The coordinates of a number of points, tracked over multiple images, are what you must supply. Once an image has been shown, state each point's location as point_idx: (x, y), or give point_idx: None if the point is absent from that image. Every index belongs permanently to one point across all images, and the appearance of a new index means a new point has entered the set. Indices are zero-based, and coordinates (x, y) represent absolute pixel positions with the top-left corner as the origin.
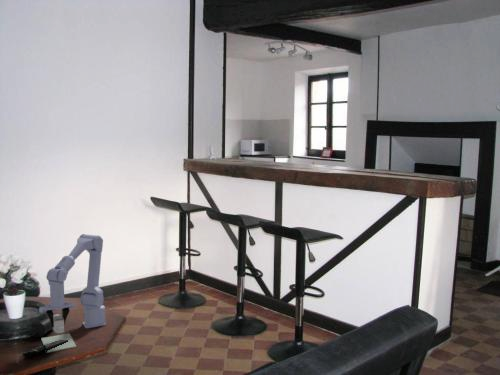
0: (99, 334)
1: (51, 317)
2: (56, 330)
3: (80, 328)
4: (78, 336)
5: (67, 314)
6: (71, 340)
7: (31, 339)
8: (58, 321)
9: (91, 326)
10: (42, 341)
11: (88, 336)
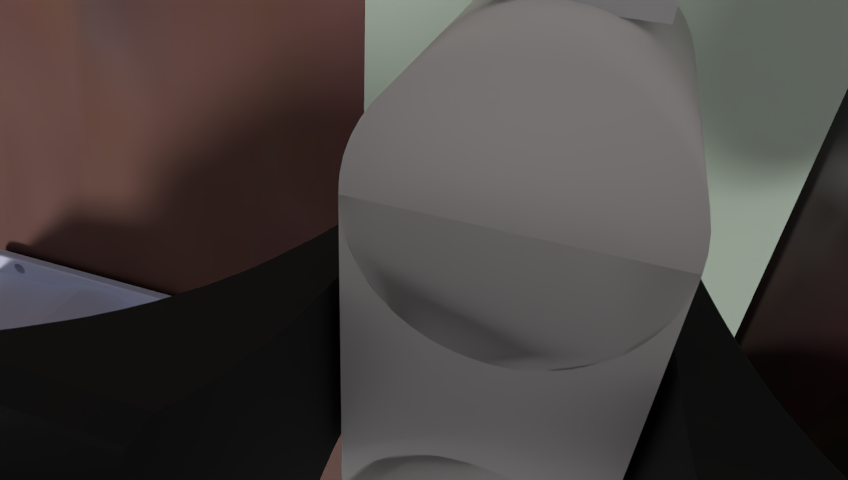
0: (43, 53)
1: (775, 476)
2: (678, 20)
3: None
4: (280, 157)
5: (136, 310)
6: (388, 48)
7: (817, 441)
8: (580, 117)
9: (121, 294)
10: (755, 287)
11: (167, 77)
